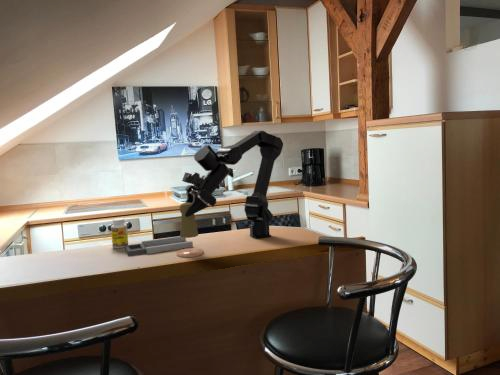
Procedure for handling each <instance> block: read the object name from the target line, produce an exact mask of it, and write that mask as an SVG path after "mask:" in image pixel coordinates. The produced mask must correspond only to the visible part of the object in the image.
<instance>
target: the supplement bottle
mask: <svg viewBox="0 0 500 375" xmlns="http://www.w3.org/2000/svg"><path fill="white" fill-rule="evenodd" d="M110 229H111V244H112V247H113V248H114V249H123V248H124V249H125V245H129V238H128V236H129V235H128V224H126V223H125V218H121V217H120V218H118V217H117V218H114V219H112V225H111V226H110Z"/></svg>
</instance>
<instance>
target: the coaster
mask: <svg viewBox="0 0 500 375" xmlns="http://www.w3.org/2000/svg"><path fill="white" fill-rule="evenodd" d="M204 253H205V252H204V249H202V248H198V247H197V248H196V247H191V248H184V249H178V250H177V251H176V256H177V257H180V258H193V257H194V258H195V257H198V256H202V255H203V254H204Z"/></svg>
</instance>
